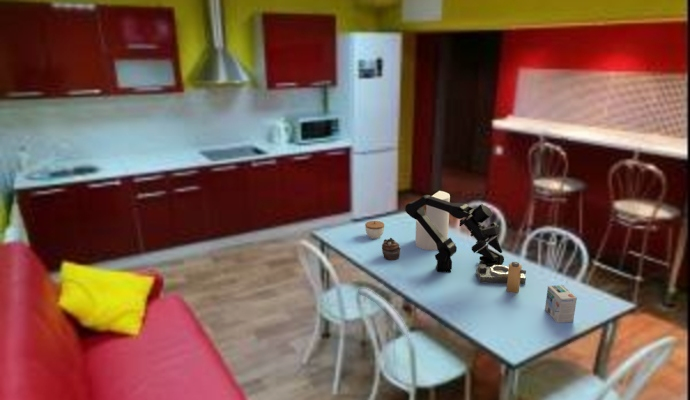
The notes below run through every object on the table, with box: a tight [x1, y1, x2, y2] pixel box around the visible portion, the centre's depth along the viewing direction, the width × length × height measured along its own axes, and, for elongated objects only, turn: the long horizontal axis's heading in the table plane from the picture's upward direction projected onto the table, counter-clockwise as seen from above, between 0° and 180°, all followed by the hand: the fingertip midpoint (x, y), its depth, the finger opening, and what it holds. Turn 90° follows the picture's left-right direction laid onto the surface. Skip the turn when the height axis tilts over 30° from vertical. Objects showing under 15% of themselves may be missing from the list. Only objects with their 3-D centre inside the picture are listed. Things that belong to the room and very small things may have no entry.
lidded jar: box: [364, 220, 385, 240], centre depth 270 cm, size 11×11×9 cm
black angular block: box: [479, 247, 505, 267], centre depth 235 cm, size 10×7×7 cm
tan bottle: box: [506, 261, 527, 294], centre depth 208 cm, size 7×5×13 cm
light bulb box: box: [544, 284, 578, 324], centre depth 189 cm, size 11×7×11 cm, turn 5°
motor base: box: [475, 263, 527, 285], centre depth 220 cm, size 20×10×5 cm, turn 85°
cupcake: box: [381, 237, 402, 261], centre depth 244 cm, size 10×10×10 cm
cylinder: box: [414, 190, 451, 251], centre depth 256 cm, size 17×17×28 cm
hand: (497, 256), depth 211 cm, fingers open, 9 cm apart
